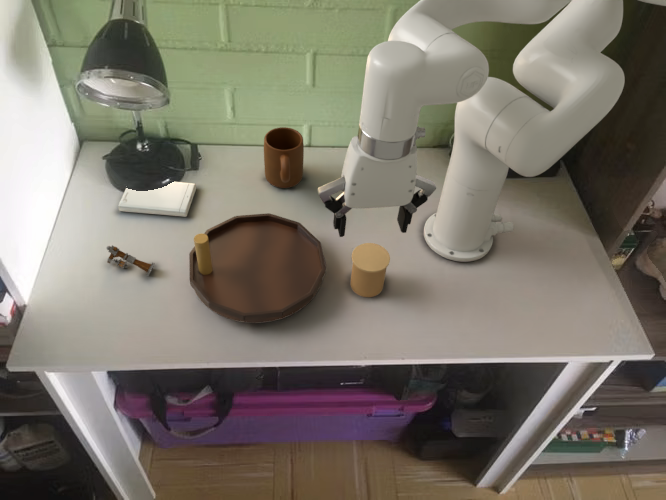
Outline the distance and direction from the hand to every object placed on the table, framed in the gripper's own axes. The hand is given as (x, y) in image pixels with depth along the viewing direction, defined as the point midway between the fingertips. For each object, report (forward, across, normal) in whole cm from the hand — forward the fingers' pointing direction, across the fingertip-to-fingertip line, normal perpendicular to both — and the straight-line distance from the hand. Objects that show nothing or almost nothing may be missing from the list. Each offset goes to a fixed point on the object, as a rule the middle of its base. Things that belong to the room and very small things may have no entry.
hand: (371, 228), depth 92 cm
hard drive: (+14, +34, -25) cm, 44 cm away
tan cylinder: (+13, -1, 0) cm, 13 cm away
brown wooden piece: (+14, +38, -8) cm, 41 cm away
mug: (+14, +10, -27) cm, 32 cm away
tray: (+12, +17, -4) cm, 21 cm away
